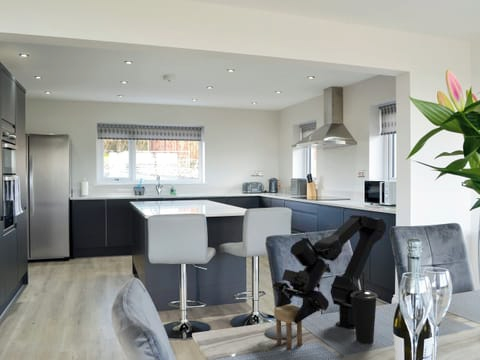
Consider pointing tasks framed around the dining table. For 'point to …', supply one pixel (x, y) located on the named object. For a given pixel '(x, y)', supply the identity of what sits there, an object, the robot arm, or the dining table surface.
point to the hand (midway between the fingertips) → (285, 319)
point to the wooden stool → (287, 323)
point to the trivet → (272, 332)
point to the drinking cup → (364, 313)
